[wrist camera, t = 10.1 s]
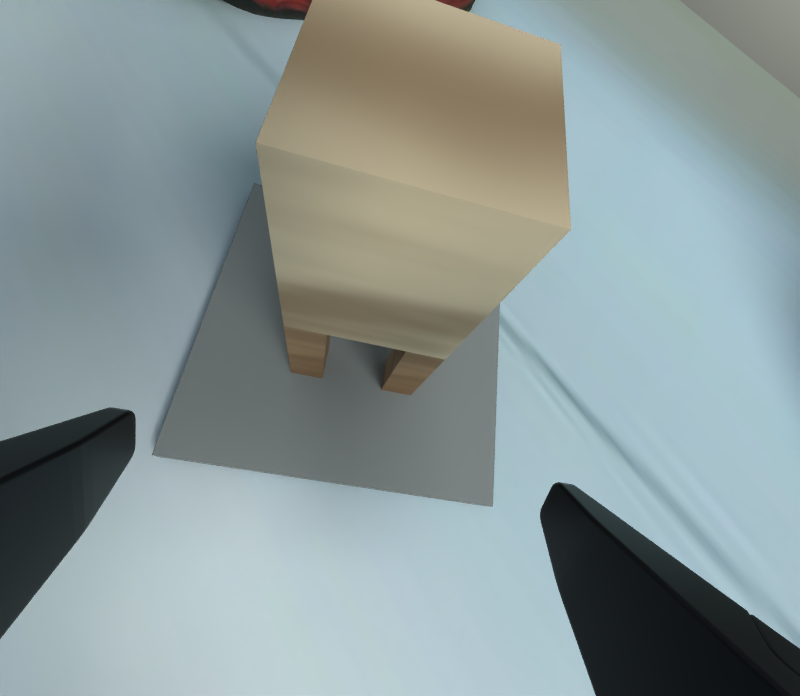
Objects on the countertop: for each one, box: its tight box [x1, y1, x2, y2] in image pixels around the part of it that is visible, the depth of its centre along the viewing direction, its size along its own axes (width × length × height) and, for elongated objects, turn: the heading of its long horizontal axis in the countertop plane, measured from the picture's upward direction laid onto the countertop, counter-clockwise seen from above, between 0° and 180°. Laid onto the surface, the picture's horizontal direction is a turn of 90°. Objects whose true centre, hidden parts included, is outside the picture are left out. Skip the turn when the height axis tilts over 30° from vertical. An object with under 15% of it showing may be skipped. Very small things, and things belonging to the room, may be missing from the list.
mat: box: [152, 183, 500, 506], centre depth 19 cm, size 14×14×1 cm
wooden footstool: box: [256, 0, 571, 395], centre depth 13 cm, size 6×6×12 cm
